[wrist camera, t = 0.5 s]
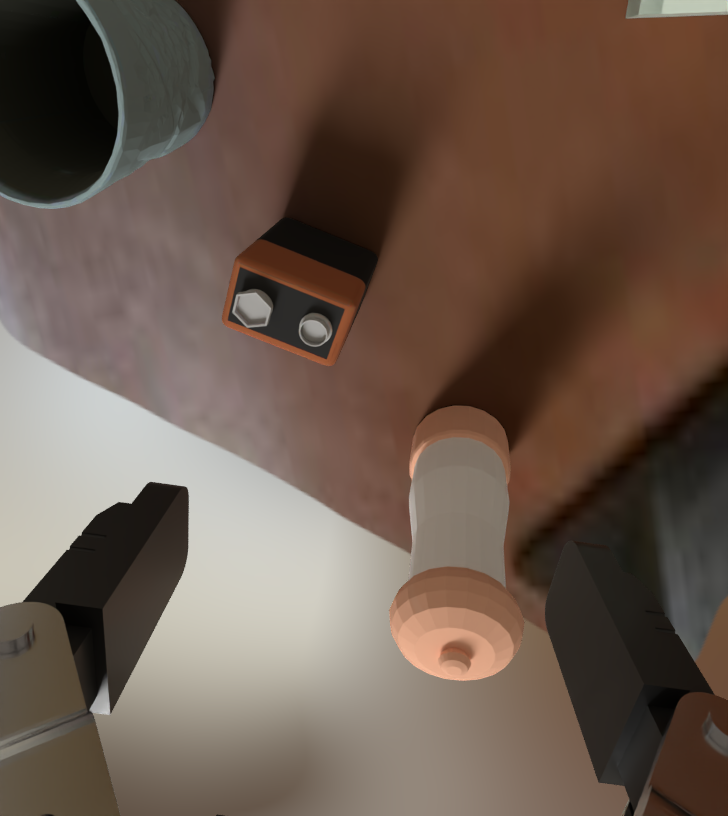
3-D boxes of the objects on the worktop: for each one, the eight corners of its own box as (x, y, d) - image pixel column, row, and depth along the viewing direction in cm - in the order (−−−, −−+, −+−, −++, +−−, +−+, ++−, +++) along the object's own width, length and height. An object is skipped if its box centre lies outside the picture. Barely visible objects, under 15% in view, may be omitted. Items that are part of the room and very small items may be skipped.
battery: (283, 213, 36) (227, 259, 28) (381, 252, 37) (355, 310, 28) (267, 273, 39) (211, 333, 30) (359, 310, 39) (328, 379, 31)
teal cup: (196, -53, 30) (56, -110, 20) (249, 153, 35) (159, 191, 25) (35, -7, 32) (-165, -38, 22) (107, 179, 37) (-29, 224, 27)
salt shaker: (527, 430, 42) (562, 661, 26) (477, 494, 46) (482, 730, 30) (440, 389, 41) (420, 600, 25) (397, 458, 45) (357, 679, 29)
